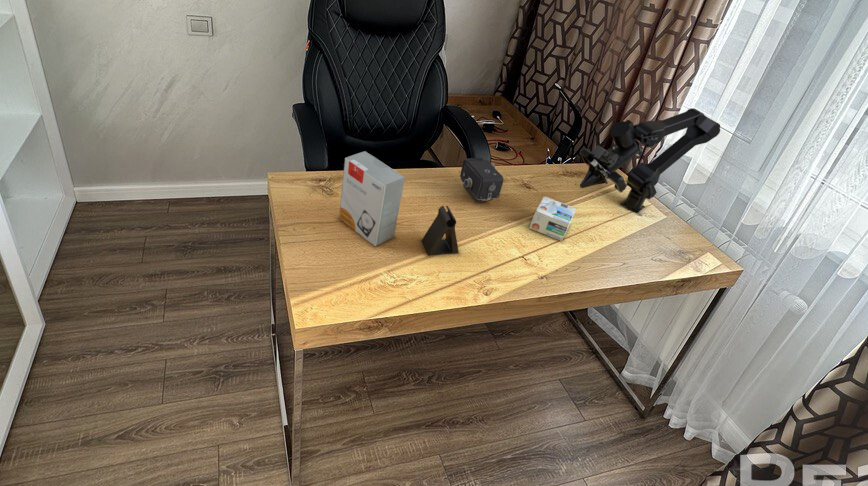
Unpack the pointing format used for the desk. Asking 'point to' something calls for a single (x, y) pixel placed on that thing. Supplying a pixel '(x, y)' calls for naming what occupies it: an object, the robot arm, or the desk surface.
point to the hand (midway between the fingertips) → (580, 187)
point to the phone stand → (441, 234)
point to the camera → (481, 179)
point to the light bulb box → (552, 218)
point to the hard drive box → (370, 197)
